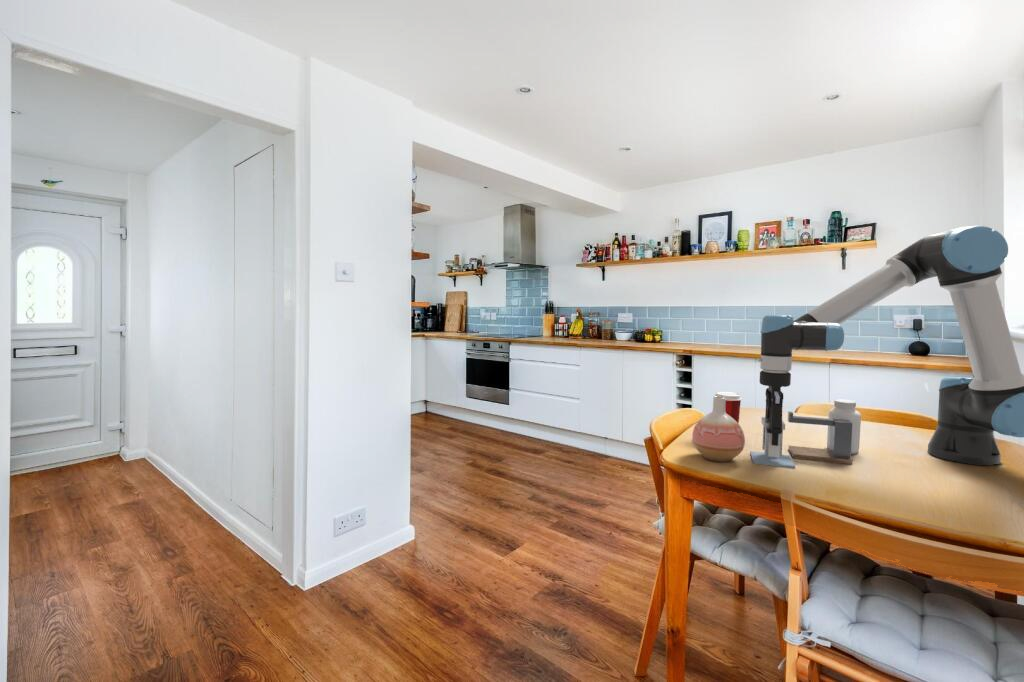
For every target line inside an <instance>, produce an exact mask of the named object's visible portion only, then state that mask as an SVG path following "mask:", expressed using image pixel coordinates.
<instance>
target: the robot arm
mask: <svg viewBox="0 0 1024 682" xmlns="http://www.w3.org/2000/svg"><path fill="white" fill-rule="evenodd" d="M1008 255H1009V244H1008V242H1007V240H1006V238H1005V237H1004V236H1003V234H1001V233H1000V232H999V231H998V230H996V229H994V228H991V227H989V226H986V225H971V226H961V227H958V228H953V229H950V230H946V231H942V232H937V233H933V234H929V235H926V236H924V237H922V238H920V239H919V240H917V241H915V242H914V243H912V244H910V245H909V246H907V247H906V248H904V249H903V250H901V251H900V252H898V253H896V254H895V255H893V256H892V257H889V258H888V259H887V260H886V261H885V265H883V266H882V267H881V268H879V269H877V270H876V271H874V272H872V273H871V274H869V275H867V276H866V277H864V278H862V279H861V280H859V281H858V282H856V283H854V284H852V285H851V286H849V287H848V288H846V289H845V290H842V291H840V292H839V293H837V294H836V295H835V296H834V295H833V297H831V298H830V299H828V300H826V301H824V302H823V303H821V304H820V305H818V306H817V307H815V308H813V309H812V310H809V311H808V312H806V313H805V314H803V315H802V316H799V317H798V318H796V319H794V317H793V316H792V315H790V314H787V315H786V314H782V315H781V314H780V315H779V314H776V315H775V314H771V315H770V314H768V315H764V317H763V318H762V322H761V330H760V335H761V336H760V346H761V347H760V357H761V358H758V359H757V362H760V365H759V367H760V371H759V384H760V385H762V386H765V387H766V386H767V388H766V389H765V416H764V417H766V418H770V430H767V433H769V443H768V456H771V457H780V436H781V433H782V420H783V403H784V392H783V391H782V390H781V389H782V387H783V388H786V387H790V386H791V384H792V383H791V382H792V381H791V380H792V373H790V372H791V371H792V361H793V353H792V351H801V350H802V351H825V352H828V351H838V350H840V349H841V348H842V346H843V344H844V341H845V332H844V328H843V326H842V325H841V324H842V323H845V322H847V321H848V320H850V319H851V318H853V317H854V316H857V315H858V314H860V313H861V312H863V311H865V310H867V309H869V308H870V307H872V306H873V305H875V304H877V303H879V302H880V301H882V300H883V299H885V298H887V297H889V296H890V295H892V294H894V293H896V292H897V291H899V290H900V289H902V288H905V287H909V288H910V287H913V286H915V285H917V284H918V283H920V282H923V281H924V280H928V279H932V278H935V277H937V281H938V284H939V287H940V288H943V289H945V290H947V291H948V292H949V293H950V294H949V295H950V297H951V301H952V304H953V307H954V311H955V316H956V318H957V322H958V325H959V330H960V332H961V335H962V336H961V337H962V339H963V343H964V346H965V350H966V354H967V358H968V361H969V363H970V368H971V371H972V375H973V377H951V376H949V377H943V378H941V380H940V383H939V388H938V391H939V394H938V410H937V412H938V413H937V426H936V429H935V430H934V433H933V435H932V436H931V438H930V440H929V443H928V444H927V453H928V454H930V455H932V456H934V457H937V458H940V459H943V460H946V461H947V460H948V461H952V462H955V461H956V463H961V462H962V463H961V464H967V463H968V464H969V465H975V464H981V465H980V466H994V465H993V464H998V465H1000V464H1001V462H1002V461H1001V460H1002V458H1001V457H1002V456H1001V455H1002V454H1001V452H1000V450H999V449H1000V448H999V447H998V444H997V441H996V438H995V435H994V432H996V433H999V434H1000V435H1003V436H1010V437H1014V438H1020V439H1021V438H1024V374H1023V373H1022V372H1021V368H1020V364H1019V360H1018V357H1017V354H1016V351H1015V345H1014V343H1013V340H1012V335H1011V333H1010V329H1009V325H1008V322H1007V318H1006V314H1005V311H1004V308H1003V303H1002V300H1001V296H1000V293H999V290H998V287H997V280H998V279H999V278H1000V277H1001V276H1002V274H1003V272H1002V268H1001V266H1002V264H1004V262H1005V261H1006V260H1005V259H1006V258H1007V257H1008ZM999 463H1000V464H999Z"/></svg>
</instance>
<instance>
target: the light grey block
mask: <svg viewBox="0 0 1024 682" xmlns="http://www.w3.org/2000/svg"><path fill="white" fill-rule="evenodd" d="M760 422H761V424H762V447H761V448H762V450H763V451H764V452H763V453H764V454H765V455H767V456H768V443H769V433H767V430H770V418H766V417H765V416H762V417H761V421H760ZM785 430H786V423H785V422H784V420H783V419H782V433H781V436H780V457H782V455H783V441H784V440H783V437H784V436H783V434H784V431H785Z"/></svg>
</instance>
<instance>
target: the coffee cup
mask: <svg viewBox="0 0 1024 682" xmlns="http://www.w3.org/2000/svg"><path fill="white" fill-rule="evenodd" d="M715 396H721V397H725V412H726V413H727V414H728V415H729V416H731V417H732V418H733V419H734V420H735V421H736V422H737V423H738V424H739V425H740V423H739V422H740V413H741V412H740V409H741V403H742V400H743V399H742V397H741V394H739V393H737V392H732V391H731V392H730V391H718V392H715V394H714V396H713V398H714V397H715Z"/></svg>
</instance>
